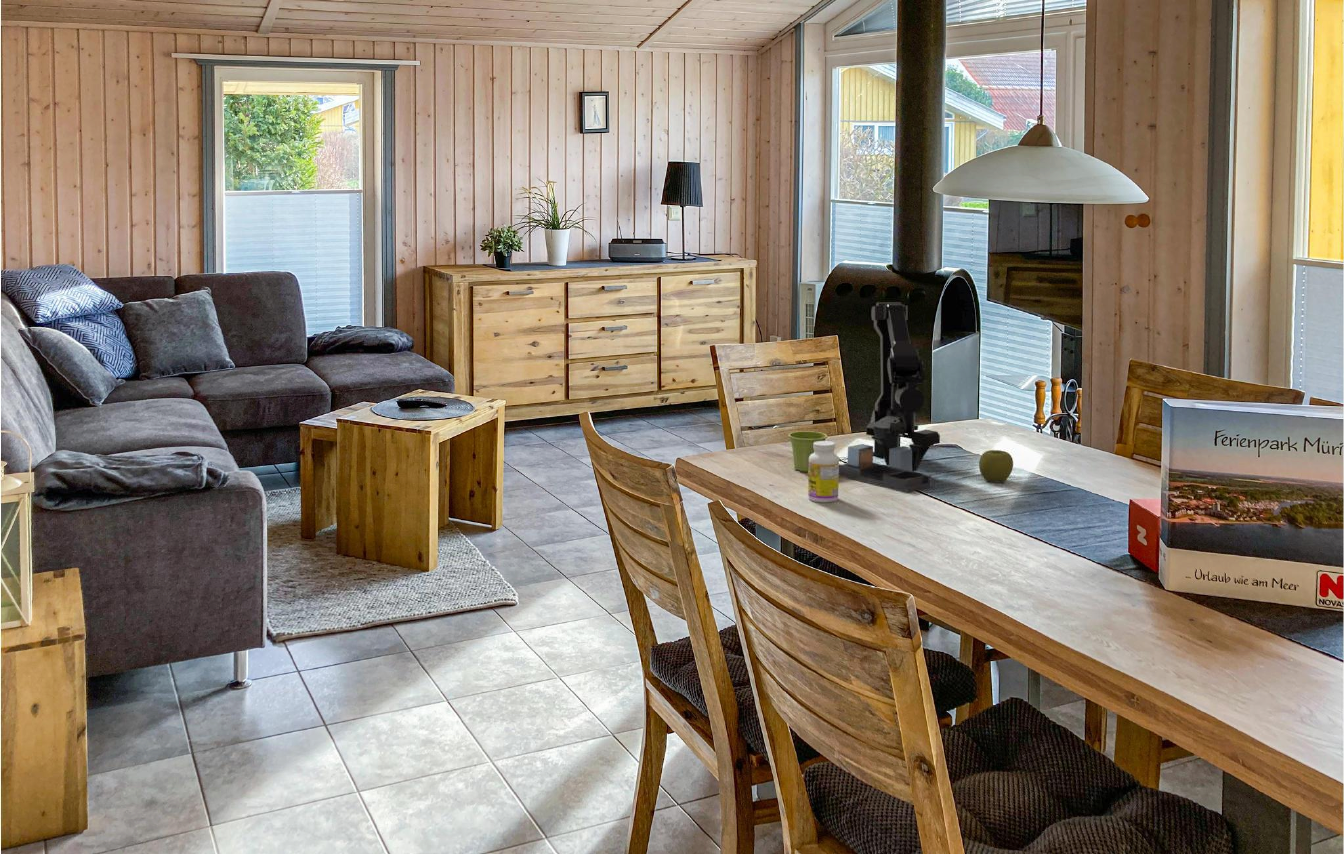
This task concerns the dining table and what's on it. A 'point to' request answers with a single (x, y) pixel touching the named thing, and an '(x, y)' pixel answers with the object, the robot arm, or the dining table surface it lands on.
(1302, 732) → the dining table surface
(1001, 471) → the apple
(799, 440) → the plant pot
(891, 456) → the block
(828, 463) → the supplement bottle
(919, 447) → the robot arm
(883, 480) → the rail
